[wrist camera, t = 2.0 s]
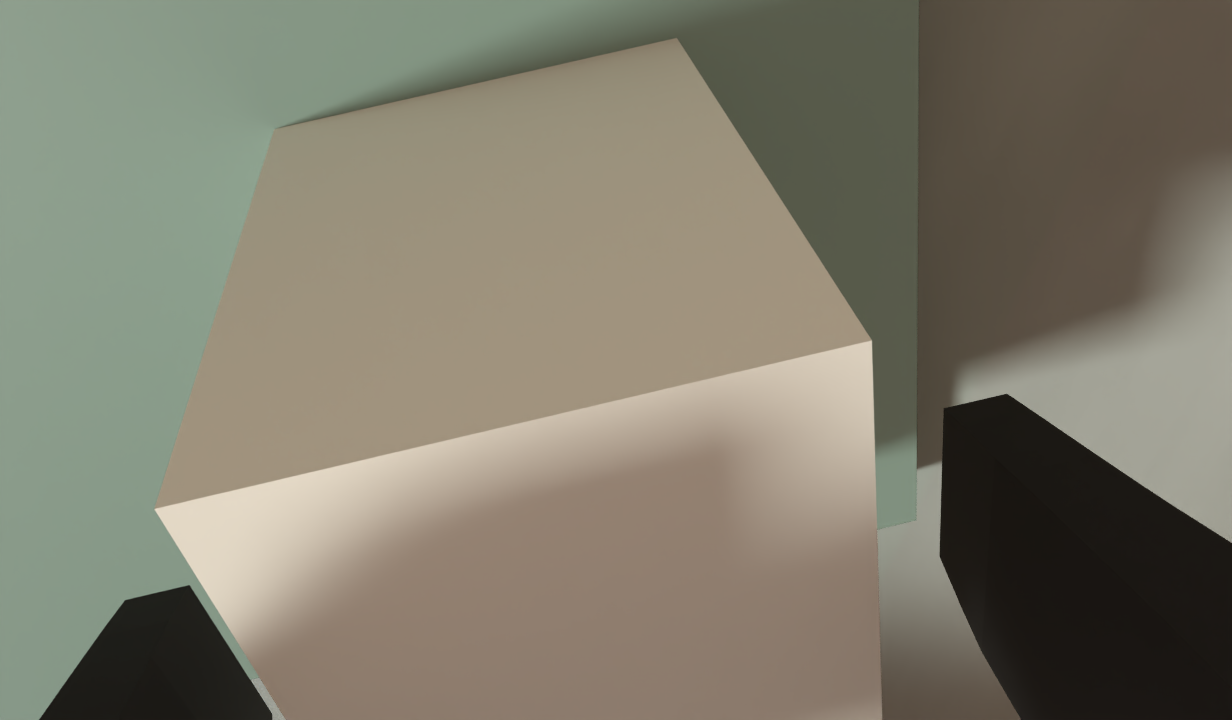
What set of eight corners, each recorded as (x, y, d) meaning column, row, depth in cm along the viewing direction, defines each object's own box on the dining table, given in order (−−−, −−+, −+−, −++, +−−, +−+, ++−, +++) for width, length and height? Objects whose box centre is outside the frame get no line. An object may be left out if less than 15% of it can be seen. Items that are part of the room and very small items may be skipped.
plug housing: (740, 493, 15) (887, 888, 10) (447, 562, 15) (458, 995, 10) (677, 38, 11) (872, 340, 6) (274, 129, 11) (154, 509, 6)
